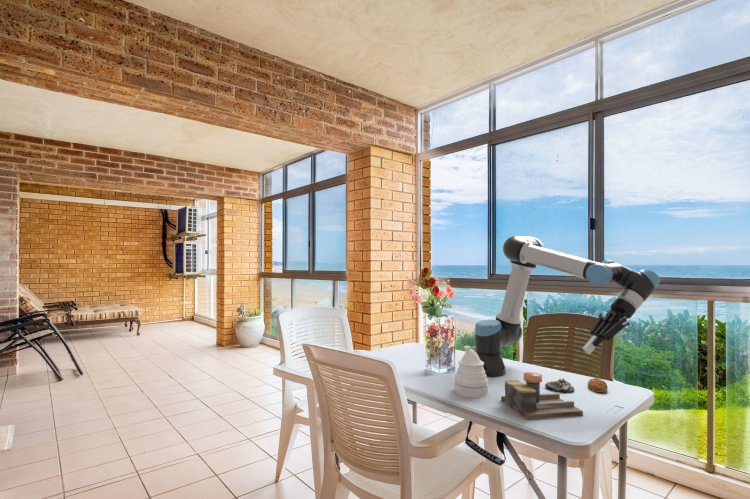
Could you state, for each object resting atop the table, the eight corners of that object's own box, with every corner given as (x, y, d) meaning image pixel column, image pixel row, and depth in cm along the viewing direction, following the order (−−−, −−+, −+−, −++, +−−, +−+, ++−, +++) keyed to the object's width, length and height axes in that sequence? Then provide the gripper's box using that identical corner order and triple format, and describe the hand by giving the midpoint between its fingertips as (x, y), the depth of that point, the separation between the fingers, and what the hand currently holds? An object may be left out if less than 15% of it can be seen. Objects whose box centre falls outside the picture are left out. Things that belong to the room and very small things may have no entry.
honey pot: (471, 399, 147) (471, 351, 148) (447, 390, 158) (447, 345, 159) (495, 393, 154) (494, 347, 155) (471, 384, 165) (470, 341, 165)
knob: (520, 400, 141) (520, 372, 141) (536, 399, 142) (535, 371, 142) (529, 406, 135) (529, 377, 136) (546, 405, 136) (545, 376, 137)
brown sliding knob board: (501, 400, 146) (500, 378, 147) (550, 397, 150) (550, 375, 150) (527, 419, 129) (527, 394, 129) (582, 415, 132) (582, 390, 132)
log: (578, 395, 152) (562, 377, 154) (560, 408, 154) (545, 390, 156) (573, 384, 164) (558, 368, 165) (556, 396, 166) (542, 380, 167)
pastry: (611, 394, 153) (611, 384, 153) (591, 393, 155) (591, 383, 155) (604, 387, 162) (604, 377, 162) (586, 386, 164) (585, 376, 164)
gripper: (647, 313, 140) (605, 363, 137) (619, 309, 153) (580, 354, 150) (634, 299, 140) (591, 348, 137) (606, 295, 152) (567, 340, 149)
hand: (586, 351), depth 143 cm, fingers closed
